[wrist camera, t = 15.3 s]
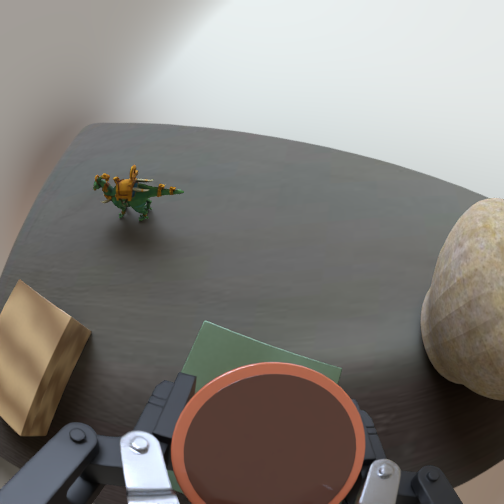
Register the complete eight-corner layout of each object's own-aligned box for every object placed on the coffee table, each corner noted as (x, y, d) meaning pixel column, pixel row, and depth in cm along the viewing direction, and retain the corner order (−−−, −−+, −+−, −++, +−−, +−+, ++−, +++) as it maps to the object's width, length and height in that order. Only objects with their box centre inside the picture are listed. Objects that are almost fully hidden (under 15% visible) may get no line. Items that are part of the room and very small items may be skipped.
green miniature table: (268, 494, 20) (285, 521, 13) (159, 456, 21) (137, 472, 14) (311, 380, 26) (342, 368, 19) (208, 343, 27) (204, 319, 20)
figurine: (107, 201, 35) (90, 156, 28) (189, 208, 36) (185, 160, 29) (99, 219, 34) (78, 175, 27) (184, 228, 34) (178, 180, 27)
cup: (207, 487, 11) (197, 547, 5) (185, 392, 14) (153, 377, 8) (311, 464, 13) (381, 497, 6) (287, 373, 16) (341, 341, 9)
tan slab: (46, 436, 19) (20, 436, 15) (-2, 390, 20) (-28, 382, 15) (91, 331, 26) (71, 316, 22) (40, 297, 27) (19, 278, 23)
